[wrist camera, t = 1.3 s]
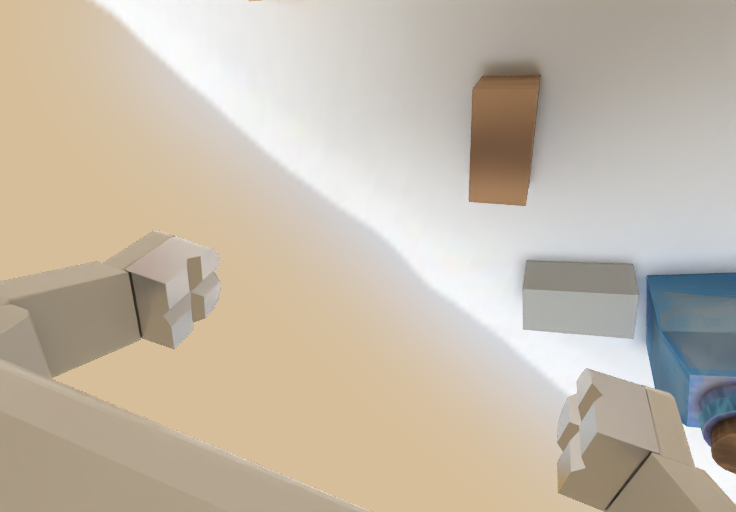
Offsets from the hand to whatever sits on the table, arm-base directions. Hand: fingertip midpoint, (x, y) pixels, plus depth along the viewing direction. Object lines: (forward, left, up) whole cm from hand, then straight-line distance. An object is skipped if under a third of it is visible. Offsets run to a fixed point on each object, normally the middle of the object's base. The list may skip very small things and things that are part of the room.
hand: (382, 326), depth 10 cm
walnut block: (0, +3, -25) cm, 25 cm away
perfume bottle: (-14, +15, -25) cm, 32 cm away
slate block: (-6, +14, -25) cm, 29 cm away
